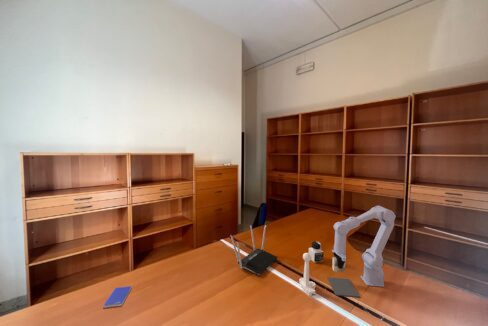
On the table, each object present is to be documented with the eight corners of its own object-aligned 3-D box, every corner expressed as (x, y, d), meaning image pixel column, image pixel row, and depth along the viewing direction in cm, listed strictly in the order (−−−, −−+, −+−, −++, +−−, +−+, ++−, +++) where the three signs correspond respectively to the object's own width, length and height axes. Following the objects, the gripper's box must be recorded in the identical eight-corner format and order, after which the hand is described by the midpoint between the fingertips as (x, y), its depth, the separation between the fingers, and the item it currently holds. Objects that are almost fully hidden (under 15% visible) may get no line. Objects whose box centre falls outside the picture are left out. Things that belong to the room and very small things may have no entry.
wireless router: (254, 282, 114) (254, 248, 112) (224, 267, 128) (224, 237, 126) (281, 257, 140) (281, 229, 139) (254, 247, 154) (254, 221, 153)
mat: (348, 279, 116) (348, 278, 116) (360, 297, 103) (360, 296, 103) (327, 278, 118) (327, 277, 118) (335, 295, 104) (335, 294, 104)
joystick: (297, 282, 114) (298, 248, 113) (309, 280, 115) (310, 247, 114) (307, 296, 103) (308, 259, 102) (320, 294, 105) (322, 257, 103)
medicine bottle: (314, 263, 133) (315, 245, 133) (308, 257, 140) (308, 240, 139) (323, 261, 135) (324, 244, 134) (316, 256, 142) (317, 239, 141)
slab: (343, 269, 116) (343, 257, 116) (344, 272, 113) (345, 260, 113) (332, 268, 117) (332, 256, 116) (333, 271, 114) (334, 259, 113)
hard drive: (121, 303, 96) (131, 286, 108) (102, 305, 94) (114, 287, 106) (121, 306, 96) (131, 288, 108) (103, 308, 94) (115, 290, 106)
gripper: (328, 237, 121) (328, 259, 122) (337, 249, 107) (336, 273, 108) (341, 238, 121) (340, 259, 122) (350, 250, 106) (349, 274, 107)
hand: (339, 266), depth 115 cm, fingers closed on slab, 3 cm apart
